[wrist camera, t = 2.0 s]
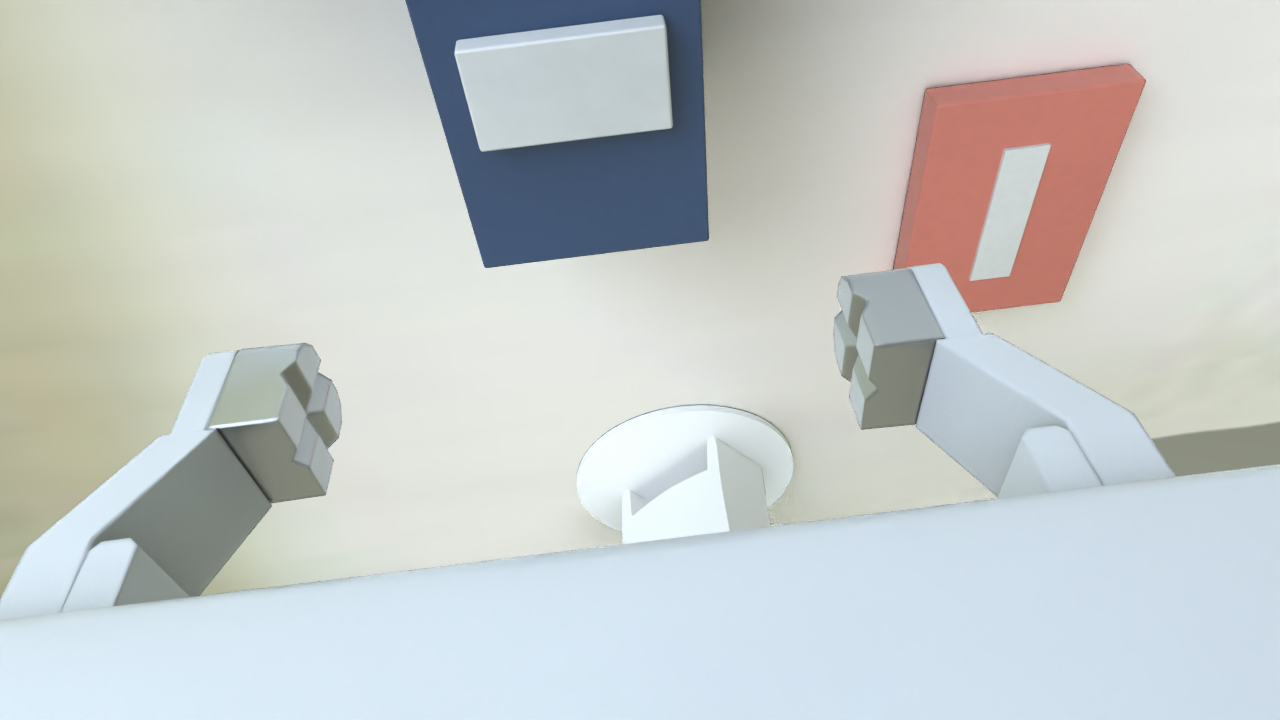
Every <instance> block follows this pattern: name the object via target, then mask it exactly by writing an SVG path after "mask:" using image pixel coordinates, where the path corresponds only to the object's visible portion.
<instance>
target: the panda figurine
mask: <svg viewBox="0 0 1280 720" xmlns="http://www.w3.org/2000/svg"><path fill="white" fill-rule="evenodd" d="M792 473H793V457H792V452H791V449H790V446H789V444H788V442H787V440H786V438H785V437H784V436H783V435H782V433H781V432H780V431H779V430H778V429H777V428H776V427H775V426H773V425H772V424H770V423H769V422H767V421H766V420H764V419H762V418H760V417H758V416H756V415H754V414H751V413H748V412H745V411H741V410H738V409H733V408H728V407H720V406H707V405H695V406H681V407H674V408H667V409H663V410H658V411H654V412H651V413H647V414H644V415H641V416H638V417H636V418H633V419H631V420H629V421H626V422H624V423H622V424H620V425H619V426H617V427H615V428H613V429H612V430H610V431H609V432H607V433H606V434H604V435H603V436H602V437H601V438H599V439H598V440H597V441H596V442H595V443H594V444H593V445H592V446H591V447H590V448H589V450H588V451H587V452H586V454H585V455H584V457H583V459H582V461H581V462H580V465H579V468H578V472H577V491H578V496H579V498H580V501H581V503H582V505H583V506H584V508H585V509H586V510H587V511H588V512H589V513H590V514H591V515H592V516H593V517H594V518H595V519H596V520H598V521H599V522H601V523H602V524H604V525H606V526H608V527H610V528H612V529H615V530H617V531H620V532H622V544H629V543H637V542H645V541H653V540H661V539H670V538H678V537H686V536H694V535H702V534H711V533H719V532H727V531H735V530H744V529H752V528H760V527H768V526H771V522H770V517H769V512H768V508H769V507H770V506H771V505H772V504H773V503H774V502H775V501H776V500H777V499H778V498H779V497H780V496H781V495H782V494H783V492H784V491H785V489H786V488H787V486H788V484H789V482H790V480H791V477H792Z"/></svg>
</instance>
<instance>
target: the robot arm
mask: <svg viewBox="0 0 1280 720" xmlns="http://www.w3.org/2000/svg"><path fill="white" fill-rule="evenodd" d="M837 298H838V300H839V303H840V306H841V308H842V311H841V312H840V313H839V314H838V315H837V316H836V317H835V319H834V332H833V336H834V349H835V355H836V359H837V364H838V367H839V370H840V373H841V376H843V377H844V378H846V379H847V380H848V381H850V382H851V387H850V394H849V398H850V401H851V404H852V406H853V409H854V412H855V415H856V417H857V420H858V423H859V426H860V428H861V430H863V429H873V428H883V427H894V426H904V425H914V424H916V428H918V429H919V430H920V431H921V432H922V433H923V434H925V435H926V436H927V437H928V438H929V439H931V440H932V441H933V442H934V443H935V444H936V445H938V446H939V447H940V448H941V449H942V450H943V451H945V452H946V453H947V454H948V455H949V456H950V457H952V458H953V459H954V460H955V461H956V462H957V463H959V464H960V465H961V466H962V467H963V468H965V469H966V470H967V471H968V472H969V473H970V474H972V475H973V476H974V477H975V478H976V479H977V480H979V481H980V482H981V483H982V484H983V485H984V486H986V487H987V488H988V489H989V490H990V491H991V492H993V493H994V494H995V495H996V496H997V497H998V498H997V499H990V500H982V501H974V502H966V503H957V504H949V505H941V506H933V507H925V508H916V509H908V510H900V511H892V512H883V513H875V514H867V515H859V516H850V517H842V518H834V519H826V520H817V521H809V522H801V523H793V524H785V525H776V526H768V527H760V528H752V529H744V530H735V531H727V532H719V533H711V534H702V535H694V536H686V537H678V538H670V539H661V540H653V541H645V542H637V543H629V544H620V545H612V546H604V547H596V548H588V549H579V550H571V551H563V552H555V553H547V554H538V555H530V556H522V557H514V558H505V559H497V560H489V561H481V562H473V563H464V564H456V565H448V566H440V567H432V568H423V569H415V570H407V571H399V572H391V573H382V574H374V575H366V576H358V577H350V578H341V579H333V580H325V581H317V582H309V583H300V584H292V585H284V586H276V587H268V588H259V589H251V590H243V591H235V592H227V593H218V594H210V595H202V596H200V594H201V593H202V592H203V591H204V590H205V588H206V587H207V586H208V585H209V583H210V582H211V581H212V580H213V578H214V577H215V576H216V575H217V574H218V572H219V571H220V570H221V569H222V567H223V566H224V565H225V564H226V562H227V561H228V560H229V559H230V557H231V556H232V555H233V554H234V553H235V551H236V550H237V549H238V548H239V546H240V545H241V544H242V543H243V541H244V540H245V539H246V538H247V536H248V535H249V534H250V533H251V532H252V530H253V529H254V528H255V527H256V525H257V524H258V523H259V522H260V520H261V519H262V518H263V517H264V515H265V514H266V513H267V512H268V511H269V509H270V508H271V507H272V505H271V503H277V502H283V501H290V500H297V499H304V498H310V497H317V496H324V495H326V492H327V488H328V483H329V479H330V475H331V470H332V466H333V462H334V460H333V458H332V457H331V455H330V453H329V451H328V450H327V449H328V448H329V447H330V446H331V445H332V444H333V443H334V442H335V441H336V440H337V439H338V438H339V435H340V429H341V424H342V414H341V403H340V399H339V396H338V392H337V390H336V388H335V386H334V384H333V382H332V380H331V379H329V378H327V377H325V376H324V375H322V374H320V373H319V372H318V370H319V366H320V362H321V359H320V358H319V356H318V354H317V353H316V351H315V349H314V348H313V346H312V345H310V344H307V343H299V344H289V345H279V346H269V347H259V348H249V349H242V350H236V351H226V352H215V353H209V354H208V355H206V356H205V357H204V358H203V359H202V360H201V362H200V364H199V367H198V369H197V372H196V374H195V376H194V379H193V381H192V384H191V386H190V388H189V391H188V393H187V396H186V398H185V400H184V403H183V405H182V408H181V410H180V412H179V415H178V417H177V419H176V422H175V424H174V427H173V429H172V431H171V434H170V435H163V436H160V437H158V438H157V439H156V440H155V441H154V442H152V443H151V444H150V445H149V446H148V447H147V448H145V449H144V450H143V451H142V452H141V453H139V454H138V455H137V456H136V457H135V458H133V459H132V460H131V461H130V462H129V463H127V464H126V465H125V466H124V467H123V468H121V469H120V470H119V471H118V472H117V473H116V474H114V475H113V476H112V477H111V478H110V479H108V480H107V481H106V482H105V483H104V484H102V485H101V486H100V487H99V488H98V489H96V490H95V491H94V492H93V493H92V494H90V495H89V496H88V497H87V498H86V499H84V500H83V501H82V502H81V503H80V504H79V505H77V506H76V507H75V508H74V509H73V510H71V511H70V512H69V513H68V514H67V515H65V516H64V517H63V518H62V519H61V520H59V521H58V522H57V523H56V524H55V525H53V526H52V527H51V528H50V529H49V530H48V531H46V532H45V533H44V534H43V535H42V536H40V537H39V538H38V539H37V540H36V541H34V542H33V543H32V544H31V545H30V546H28V547H27V548H26V550H25V552H24V554H23V556H22V558H21V560H20V562H19V564H18V566H17V568H16V570H15V572H14V574H13V576H12V578H11V579H10V581H9V583H8V585H7V587H6V589H5V591H4V593H3V595H2V597H1V599H0V720H1280V464H1277V465H1269V466H1261V467H1253V468H1244V469H1236V470H1229V471H1220V472H1212V473H1203V474H1196V475H1187V476H1180V477H1176V475H1175V474H1174V473H1173V471H1172V470H1171V468H1170V466H1169V465H1168V463H1167V462H1166V460H1165V459H1164V458H1163V456H1162V454H1161V453H1160V451H1159V450H1158V448H1157V447H1156V446H1155V444H1154V443H1153V441H1152V439H1151V438H1150V436H1149V435H1148V433H1147V432H1146V430H1145V429H1144V427H1143V426H1142V424H1141V423H1140V421H1139V420H1138V419H1137V417H1136V416H1135V414H1134V413H1132V412H1131V411H1129V410H1127V409H1125V408H1124V407H1122V406H1120V405H1118V404H1117V403H1115V402H1113V401H1111V400H1109V399H1108V398H1106V397H1104V396H1102V395H1101V394H1099V393H1097V392H1095V391H1094V390H1092V389H1090V388H1088V387H1087V386H1085V385H1083V384H1081V383H1080V382H1078V381H1076V380H1074V379H1072V378H1071V377H1069V376H1067V375H1065V374H1064V373H1062V372H1060V371H1058V370H1057V369H1055V368H1053V367H1051V366H1050V365H1048V364H1046V363H1044V362H1043V361H1041V360H1039V359H1037V358H1035V357H1034V356H1032V355H1030V354H1028V353H1027V352H1025V351H1023V350H1021V349H1020V348H1018V347H1016V346H1014V345H1013V344H1011V343H1009V342H1007V341H1006V340H1004V339H1002V338H1000V337H998V336H997V335H995V334H993V333H992V334H983V333H982V331H981V329H980V328H979V326H978V324H977V322H976V320H975V319H974V317H973V315H972V313H971V311H970V310H969V308H968V306H967V304H966V303H965V301H964V299H963V297H962V295H961V294H960V292H959V290H958V288H957V286H956V285H955V283H954V281H953V279H952V278H951V276H950V274H949V272H948V270H947V269H946V267H945V266H944V265H942V264H941V263H934V264H927V265H920V266H913V267H907V268H906V269H905V268H902V269H895V270H887V271H879V272H872V273H864V274H857V275H849V276H841V279H840V282H839V285H838V292H837Z"/></svg>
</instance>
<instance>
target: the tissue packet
mask: <svg viewBox="0 0 1280 720" xmlns="http://www.w3.org/2000/svg"><path fill="white" fill-rule="evenodd" d="M1145 82H1146V80H1145V78H1144V77H1143V76H1141V75H1140V74H1139V73H1138V72H1137V71H1136V70H1135V69H1134V68H1133V67H1132V66H1131V65H1129V64H1124V65H1116V66H1108V67H1100V68H1092V69H1084V70H1076V71H1067V72H1059V73H1051V74H1043V75H1035V76H1027V77H1019V78H1011V79H1003V80H995V81H987V82H979V83H971V84H963V85H955V86H947V87H939V88H931V89H926V91H925V96H924V102H923V107H922V113H921V119H920V124H919V130H918V135H917V141H916V146H915V152H914V158H913V163H912V169H911V174H910V180H909V185H908V191H907V197H906V202H905V208H904V213H903V219H902V224H901V230H900V236H899V241H898V247H897V252H896V258H895V263H894V269H893V270H895V269H902V268H905V269H906V268H907V267H913V266H920V265H927V264H934V263H941V264H942V265H944V266H945V267H946V269H947V270H948V272H949V274H950V276H951V278H952V279H953V281H954V283H955V285H956V286H957V288H958V290H959V292H960V294H961V295H962V297H963V299H964V301H965V303H966V304H967V306H968V308H969V310H970V311H971V312H979V311H987V310H995V309H1003V308H1012V307H1020V306H1028V305H1036V304H1044V303H1052V302H1059V301H1061V299H1062V296H1063V293H1064V291H1065V288H1066V286H1067V283H1068V281H1069V278H1070V275H1071V273H1072V270H1073V268H1074V265H1075V263H1076V260H1077V257H1078V255H1079V252H1080V250H1081V247H1082V244H1083V242H1084V239H1085V237H1086V234H1087V232H1088V229H1089V226H1090V224H1091V221H1092V219H1093V216H1094V214H1095V211H1096V208H1097V206H1098V203H1099V201H1100V198H1101V196H1102V193H1103V190H1104V188H1105V185H1106V183H1107V180H1108V178H1109V175H1110V172H1111V170H1112V167H1113V165H1114V162H1115V160H1116V157H1117V154H1118V152H1119V149H1120V147H1121V144H1122V142H1123V139H1124V136H1125V134H1126V131H1127V129H1128V126H1129V124H1130V121H1131V118H1132V116H1133V113H1134V111H1135V108H1136V106H1137V103H1138V100H1139V98H1140V95H1141V93H1142V90H1143V88H1144V85H1145Z"/></svg>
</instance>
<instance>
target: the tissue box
mask: <svg viewBox="0 0 1280 720" xmlns="http://www.w3.org/2000/svg"><path fill="white" fill-rule="evenodd" d="M405 1H406V4H407V8H408V11H409V14H410V18H411V21H412V24H413V28H414V31H415V35H416V38H417V41H418V45H419V48H420V51H421V55H422V58H423V62H424V65H425V68H426V72H427V75H428V78H429V82H430V85H431V89H432V92H433V95H434V99H435V102H436V105H437V109H438V112H439V116H440V119H441V122H442V126H443V129H444V132H445V136H446V139H447V142H448V146H449V149H450V153H451V156H452V159H453V163H454V166H455V169H456V173H457V176H458V180H459V183H460V186H461V190H462V193H463V196H464V200H465V203H466V207H467V210H468V213H469V217H470V220H471V223H472V227H473V230H474V234H475V237H476V240H477V244H478V247H479V250H480V254H481V257H482V261H483V264H484V267H485V268H490V267H498V266H506V265H514V264H522V263H530V262H539V261H547V260H555V259H563V258H571V257H579V256H587V255H595V254H603V253H611V252H620V251H628V250H636V249H644V248H652V247H660V246H668V245H676V244H684V243H692V242H700V241H707V240H708V239H709V224H708V195H707V166H706V137H705V107H704V78H703V49H702V20H701V0H405Z"/></svg>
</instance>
